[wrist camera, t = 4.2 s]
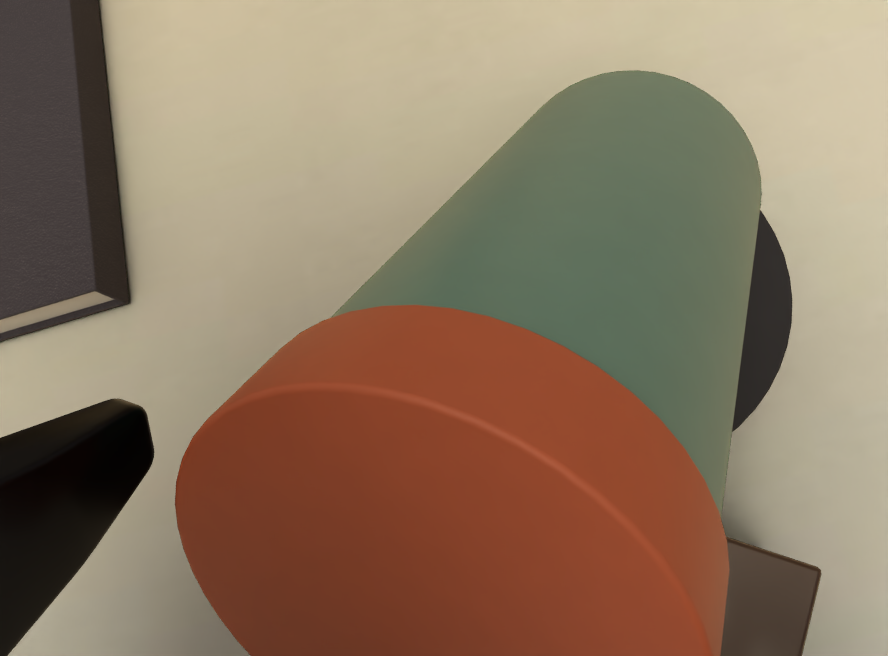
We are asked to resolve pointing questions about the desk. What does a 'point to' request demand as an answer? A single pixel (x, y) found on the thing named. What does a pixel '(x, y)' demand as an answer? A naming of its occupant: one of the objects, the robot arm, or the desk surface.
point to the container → (506, 409)
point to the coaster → (764, 323)
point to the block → (767, 602)
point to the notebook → (56, 169)
